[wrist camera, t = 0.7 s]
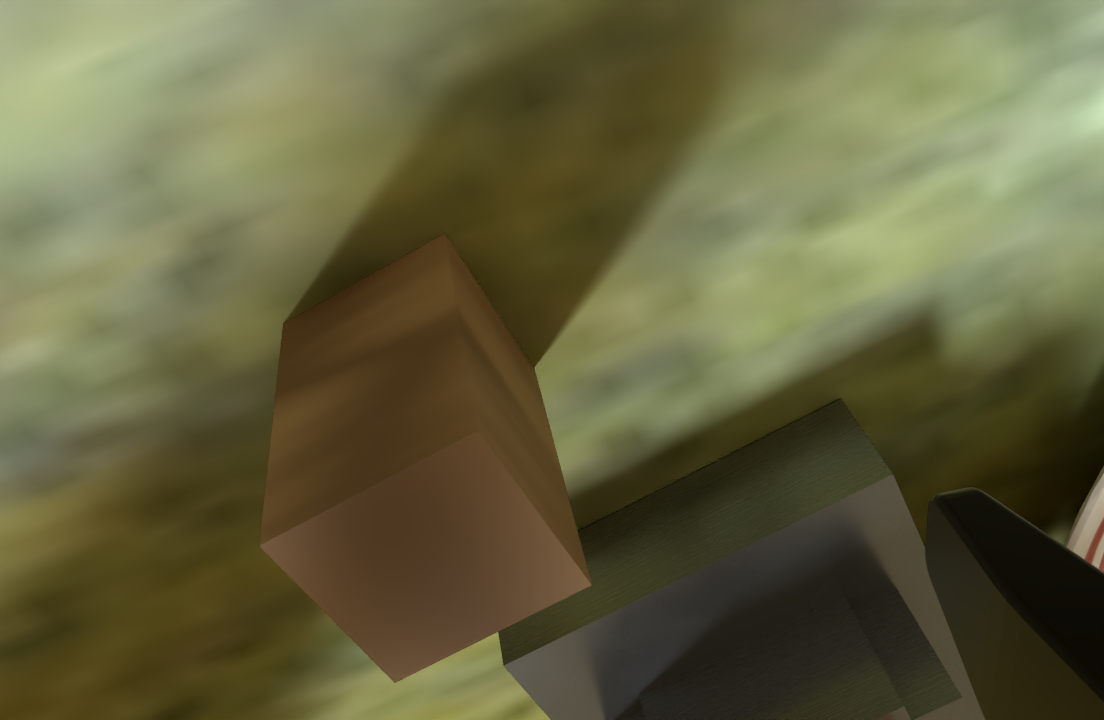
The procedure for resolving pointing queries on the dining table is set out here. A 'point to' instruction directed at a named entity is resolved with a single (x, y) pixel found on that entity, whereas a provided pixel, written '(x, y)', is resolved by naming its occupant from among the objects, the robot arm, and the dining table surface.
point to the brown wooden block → (416, 466)
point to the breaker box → (753, 597)
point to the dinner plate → (1090, 526)
